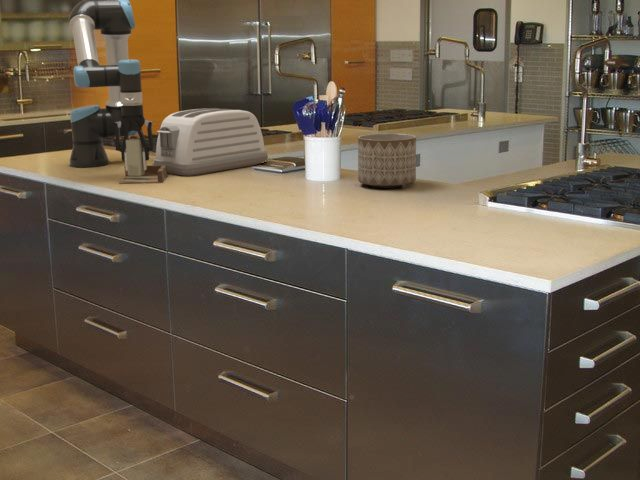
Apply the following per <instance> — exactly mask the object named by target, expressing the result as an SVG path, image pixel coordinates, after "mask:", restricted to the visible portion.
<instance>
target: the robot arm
mask: <svg viewBox="0 0 640 480" xmlns="http://www.w3.org/2000/svg"><path fill="white" fill-rule="evenodd" d="M134 16H135V15H134V11H133V8H132V3H131V1H130V0H81V1H79V2H78V3H77V4H76V5H74V7H72V10H71V11H70V13H69V16H68V21H67V22H68V28H69V31H70V32H71V33H72V36H73V45H74V49H75V55H76V62H77V63H76V64H77V65H75V66H74V67H73V81H74V82H73V83H74V86H75V87H76V88H87V89H88V88H99V87H101V88H102V87H104V88H105V87H108V100H107V101H106V103H105V107H104V108H101V106H100V105H99V104H94V105H93V104H92V105H85V106H79V107H76V108H73V109H72V110H71V111H70V124H71V135H72V136H71V137H72V149H71V153H70V159H69V166H70V167H74V168H94V167H102V166H106V165H109V163H110V161H109V156H108V154H107V151H106V149H105V147H104V143H103V141H104V140H103V139H104V138H105V139H106V138H115V150H116V151H118V152H120V153H121V154H120V155H121V161H122V162H124V165H125V166H124V170H125V169H126V171H128V166H127V152H126V140H128V139H129V137H133V136H136V135H137V134H138V136H139V137H138V138H139V139H141V142H142V145H143V150H144V151H143V166H144V170H146V169H147V164H148V163H147V161H149V160H150V151H151V150H154V138H153V129H152V127H153V124H154V123H153V121H151V120H147V119H146V118H145V116H144V105H143V104H142V103H143V100H144V99H143V92H142V91H143V90H142V73H141V71H142V68H141V63H140V60H139V59H129V42H128V41H129V40H128V39H129V37H130V36H131V35H132V30H134V29H135V28H136V26H135V23H136V22H135V17H134ZM95 30H97V31H98V30H100V35H101V36H102V37H103V38H104V39H105V40H104V41H105V55H106V57H105V58H106V65H104V64H102V65H100V61H99V55H98V51H97V44H96V37H95V32H94V31H95ZM144 124H145V127H146V128H147V129H146V130H147V137H148V140H146V138H145V135H144V131H143V129H142V127H143V126H144ZM122 137H123V138H122ZM121 138H122V139H123V140H122V145H121ZM147 141H148V143H147Z"/></svg>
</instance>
